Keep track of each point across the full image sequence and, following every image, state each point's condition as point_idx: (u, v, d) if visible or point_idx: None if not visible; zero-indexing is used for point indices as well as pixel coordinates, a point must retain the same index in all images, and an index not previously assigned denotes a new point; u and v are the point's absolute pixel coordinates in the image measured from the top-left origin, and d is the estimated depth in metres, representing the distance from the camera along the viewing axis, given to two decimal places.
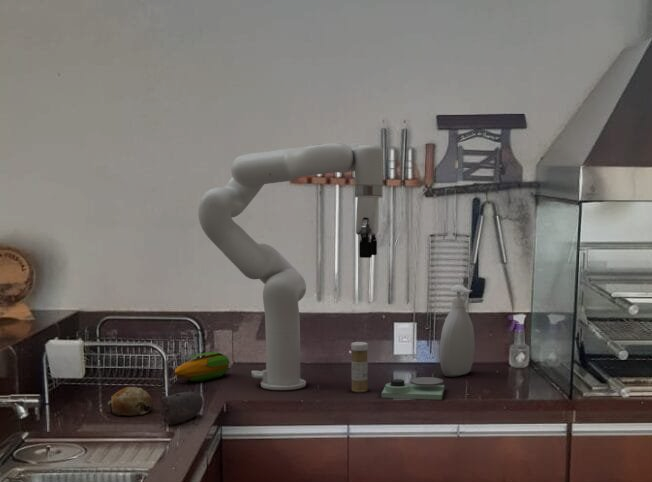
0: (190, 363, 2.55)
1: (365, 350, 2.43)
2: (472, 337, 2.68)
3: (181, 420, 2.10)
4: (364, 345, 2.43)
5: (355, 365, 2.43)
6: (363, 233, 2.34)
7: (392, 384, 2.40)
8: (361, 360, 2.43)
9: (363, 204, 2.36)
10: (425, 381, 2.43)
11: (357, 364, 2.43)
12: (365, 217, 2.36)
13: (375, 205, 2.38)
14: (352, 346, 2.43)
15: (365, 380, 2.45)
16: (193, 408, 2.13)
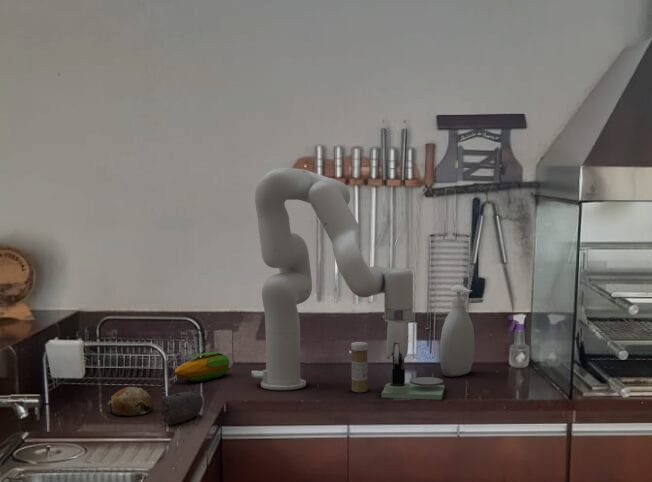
0: (190, 363, 2.55)
1: (365, 350, 2.43)
2: (472, 337, 2.68)
3: (181, 420, 2.10)
4: (364, 345, 2.43)
5: (355, 365, 2.43)
6: (396, 364, 2.36)
7: None
8: (361, 360, 2.43)
9: (394, 329, 2.34)
10: (425, 381, 2.43)
11: (357, 364, 2.43)
12: (396, 342, 2.34)
13: (406, 330, 2.35)
14: (352, 346, 2.43)
15: (365, 380, 2.45)
16: (193, 408, 2.13)
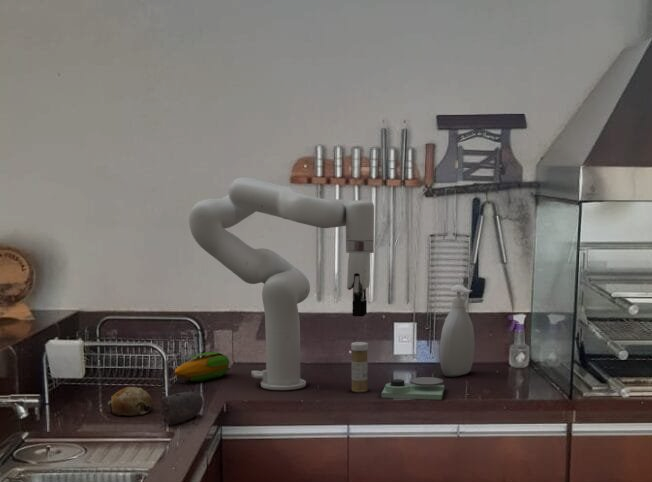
0: (190, 363, 2.55)
1: (365, 350, 2.43)
2: (472, 337, 2.68)
3: (181, 420, 2.10)
4: (364, 345, 2.43)
5: (355, 365, 2.43)
6: (356, 295, 2.37)
7: (392, 384, 2.40)
8: (361, 360, 2.43)
9: (354, 260, 2.36)
10: (425, 381, 2.43)
11: (357, 364, 2.43)
12: (356, 273, 2.36)
13: (366, 261, 2.37)
14: (352, 346, 2.43)
15: (365, 380, 2.45)
16: (193, 408, 2.13)
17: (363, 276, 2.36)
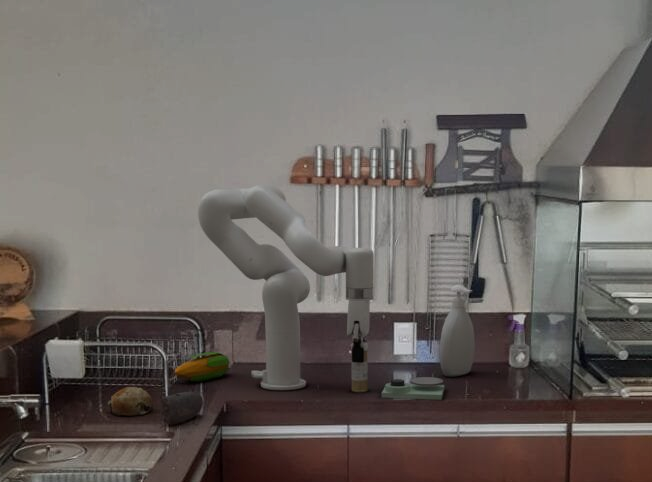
0: (190, 363, 2.55)
1: (365, 350, 2.43)
2: (472, 337, 2.68)
3: (181, 420, 2.10)
4: (364, 345, 2.43)
5: (355, 365, 2.43)
6: (355, 342, 2.38)
7: (392, 384, 2.40)
8: None
9: (354, 308, 2.38)
10: (425, 381, 2.43)
11: (357, 364, 2.43)
12: (356, 320, 2.38)
13: (366, 308, 2.39)
14: None
15: (365, 380, 2.45)
16: (193, 408, 2.13)
17: (363, 323, 2.38)
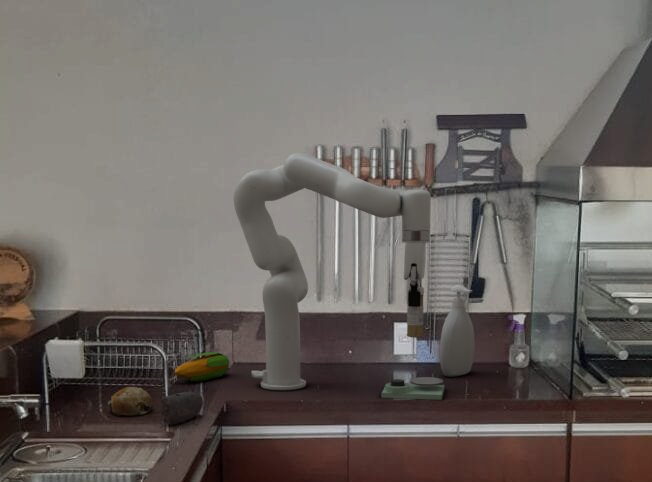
0: (190, 363, 2.55)
1: (421, 294, 2.39)
2: (472, 337, 2.68)
3: (181, 420, 2.10)
4: (420, 289, 2.39)
5: (411, 309, 2.40)
6: (412, 285, 2.34)
7: (392, 384, 2.40)
8: None
9: (411, 250, 2.34)
10: (425, 381, 2.43)
11: (414, 308, 2.39)
12: (414, 263, 2.34)
13: (423, 250, 2.36)
14: (408, 290, 2.39)
15: (421, 325, 2.41)
16: (193, 408, 2.13)
17: (420, 266, 2.34)
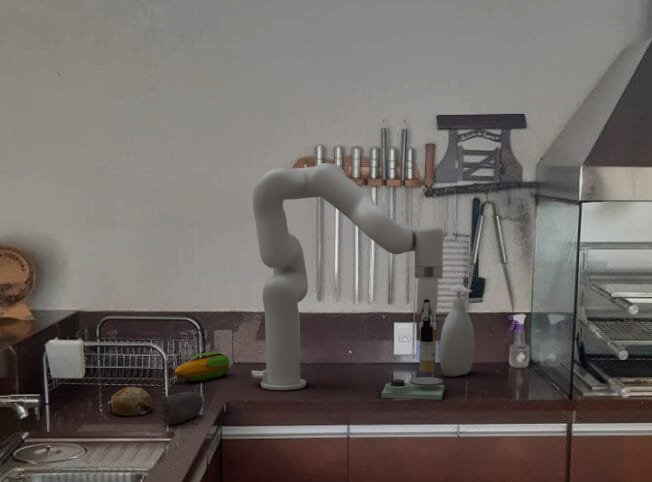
0: (190, 363, 2.55)
1: (434, 329, 2.41)
2: (472, 337, 2.68)
3: (181, 420, 2.10)
4: (433, 324, 2.40)
5: (423, 344, 2.41)
6: (425, 320, 2.36)
7: (392, 384, 2.40)
8: None
9: (424, 286, 2.35)
10: (425, 381, 2.43)
11: (426, 343, 2.40)
12: (426, 299, 2.36)
13: (436, 286, 2.37)
14: (421, 325, 2.41)
15: (433, 360, 2.42)
16: (193, 408, 2.13)
17: (433, 302, 2.36)
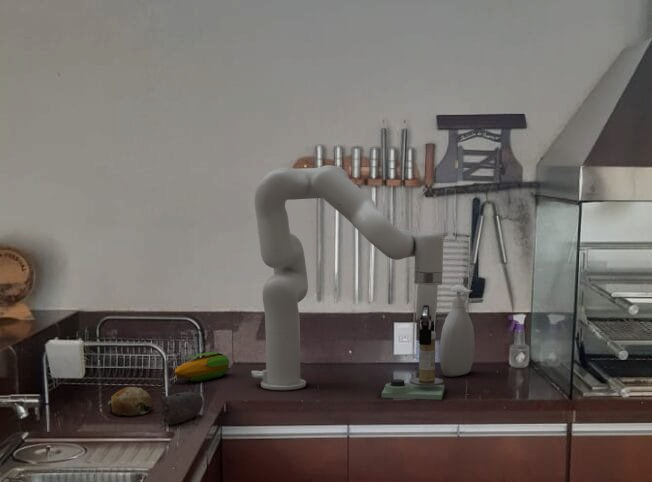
0: (190, 363, 2.55)
1: (433, 339, 2.41)
2: (472, 337, 2.68)
3: (181, 420, 2.10)
4: (432, 334, 2.40)
5: (423, 354, 2.41)
6: (424, 322, 2.34)
7: (392, 384, 2.40)
8: (430, 349, 2.41)
9: (424, 292, 2.36)
10: None
11: (426, 353, 2.41)
12: (426, 305, 2.36)
13: (435, 292, 2.37)
14: None
15: (433, 369, 2.43)
16: (193, 408, 2.13)
17: (432, 308, 2.36)
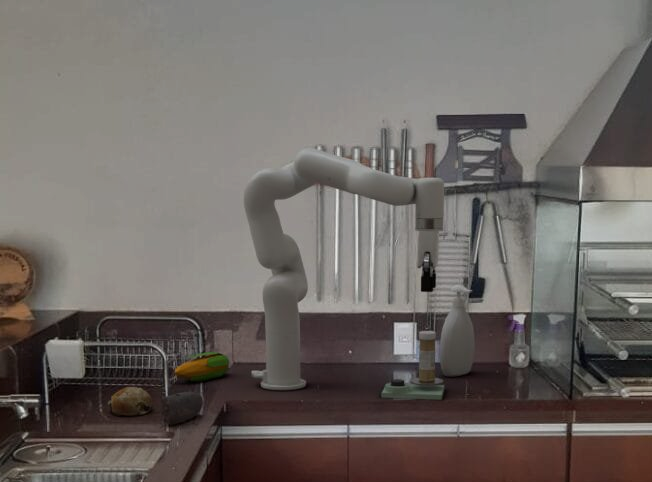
0: (190, 363, 2.55)
1: (433, 339, 2.41)
2: (472, 337, 2.68)
3: (181, 420, 2.10)
4: (432, 334, 2.40)
5: (423, 354, 2.41)
6: (425, 268, 2.31)
7: (392, 384, 2.40)
8: (430, 349, 2.41)
9: (425, 238, 2.33)
10: None
11: (426, 353, 2.41)
12: (427, 251, 2.34)
13: (437, 239, 2.35)
14: (420, 335, 2.41)
15: (433, 369, 2.43)
16: (193, 408, 2.13)
17: (434, 254, 2.34)
